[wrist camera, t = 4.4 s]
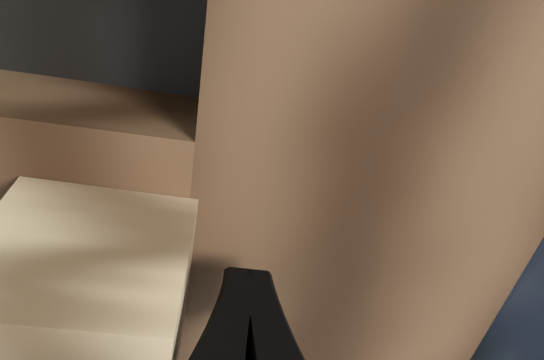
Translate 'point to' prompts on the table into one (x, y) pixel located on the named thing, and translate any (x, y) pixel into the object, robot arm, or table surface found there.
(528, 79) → the trap deck
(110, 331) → the birch block
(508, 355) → the table surface
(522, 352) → the table surface
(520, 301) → the table surface
